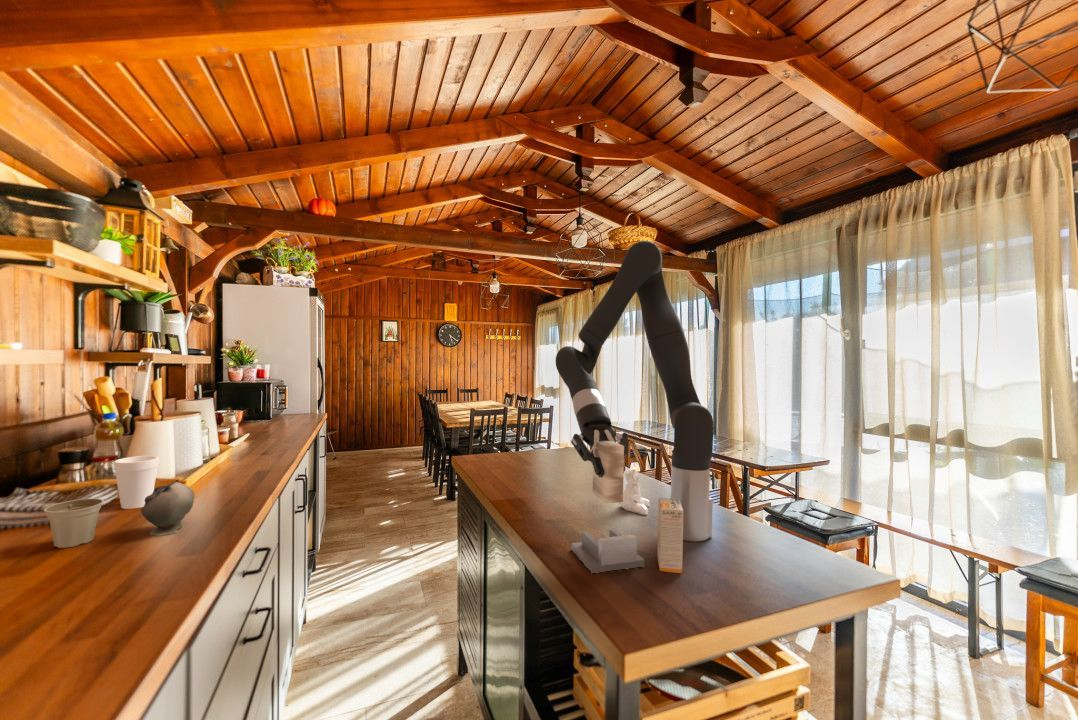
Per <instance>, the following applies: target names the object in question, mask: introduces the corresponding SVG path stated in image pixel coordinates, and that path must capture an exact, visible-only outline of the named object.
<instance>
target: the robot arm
mask: <svg viewBox="0 0 1078 720" xmlns="http://www.w3.org/2000/svg"><path fill="white" fill-rule="evenodd" d="M662 263H663V254H662V252H661V250H660V248H659V246H658V245H657V244H656V243H655V242H652V241H649V240H640V241H637V242H635V243H634V244H632V245H631V246H629V248H628V249H627V251H626V253H625V256H624V258H623V261H622V263H621V265H620V267H619V270H618V271H617V273H616V276H615V277H614V279H613V281H612V283H611V284H610V285H609V288H608V289H607V291H606V293H605V294H604V295H603V297H602V299H601V300H600V301H599V303H598V304H597V306H596V307H595V308H594V310H593V311H592V313H591V314H590V316H589V317H588V319H587V320H586V322H585V323H584V324H583V326H581V329H580V331H579V333H578V338H579V340H580V341H581V342H582V343H583V348H582V351H580V350H579V349H577V348H575V347H573V346H567V345H566V346H564V347H562V348H560V349H559V350H558V351H557V353H556V355H555V368H556V370H557V372H558V374H559V376H560V378H561V379H562V381H563V382H564V384H565V386H567V389H568V391H569V394H570V398H571V402H572V406H573V411H574V416H575V418H576V421H577V424H578V427H579V431H580V434H578V433H574V434H573V436H572V438H571V440H570V442H571V444H572V446H573V448H574V449H575V450H576V452H577V453H578V455H579V456H580V459H582V461H584V462H587V461H588V462H590V463H591V464H592V468H593V467H594V471H595V473H596V475H598V476H599V478H600V477H603V475H604V473H605V472H604V468H603V465H602V462H601V459H600V458H599V452H598V446H597V443H596V442H599V441H613V442H615V443H618V444H620V445H623V446H624V459H625V458H626V456H627V455H628V453H629V438H628V436H629V435H628V434H629V433H627V432H622V433H619V432H617V431H616V430H615V429H614V428H613V425H612V421H611V418H610V415H609V413H608V409H607V407H606V405H605V404H606V403H605V401H604V400H603V397H602V396H601V394H600V391H599V388H598V385H597V383H596V381H595V378H594V377H593V376H592V375H591V374H592V373H593V371H594V370H595V367H596V365H597V362H598V360H599V359H598V358H599V356H600V353H601V351H602V348H603V345H604V344H605V343H606V342H607V340H608V338H609V337H610V335H611V334H612V332H613V330H614V329H615V327H616V326H617V324H618V323H619V321H620V319H621V318H622V316H623V314H624V312H625V310H626V309H627V306H628V305H629V303H630V302H631V300H632V299H633V297H634V296H635V294H637V297H638V300H639V304H640V309H641V316H642V323H643V328H644V333H645V337H646V341H647V344H648V347H649V350H650V354H651V356H652V359H653V362H654V365H655V368H656V371H657V373H658V375H659V378H660V381H661V383H662V385H663V389H664V392H665V396H666V401H667V406H668V407H667V408H668V413H669V418H670V424H671V426H672V429H673V449H672V453H671V459H670V460H671V463H670V464H671V465H670V466H671V467H670V499H679V500H680V502H681V505H682V508H683V541H687V542H703V541H706V540H708V539H709V538H712V537H713V516H714V515H713V514H714V513H713V509H714V508H713V507H714V504H713V503H714V500H713V498H712V497H710V492H711V491H710V490H711V489H710V486H711V485H710V483H711V482H710V479H711V478H710V477H711V475H710V474H711V473H710V472H711V461H712V457H713V452H714V450H713V449H714V447H713V446H714V428H715V427H714V425H715V424H714V418H713V415H712V412H710V410H709V409H708V408H706V407H705V406H703V405H702V403H701V401H700V399H699V396H698V394H697V391H696V389H695V388H696V387H695V385H694V384H693V378H692V377H693V376H692V371H691V370H692V369H691V357H690V350H689V345H688V341H687V337H686V335H685V331H684V328H683V326H682V323H681V320H680V317H679V316H678V313H677V311H676V309H675V306H674V305H673V302H672V301H671V299H670V296H669V294H668V291H667V286H666V282H665V278H664V273H663V272H664V271H663V264H662ZM615 440H616V441H615ZM585 443H586V444H587V445H588V446H589V448H588V447H587V446H586V444H585ZM624 472H626V466H625V465H624Z"/></svg>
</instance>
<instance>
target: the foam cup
mask: <svg viewBox="0 0 1078 720" xmlns="http://www.w3.org/2000/svg"><path fill="white" fill-rule="evenodd" d="M113 462H114V463H113V470H114V471H115V477H116V483H117V485H116V486H117V489H118V497H119V502H120V503H119V504H120V508H121V509H125V510H131V509H132V510H133V509H141V508H143V507H144V505H145V498H146V497H147V496H149V495H151V494H152V493H153V491H154V490H155V485H156V479H157V473H158V467H159V465H160V456H158V455H137V456H129V457H121V458H119V459H116V460H115V461H113Z"/></svg>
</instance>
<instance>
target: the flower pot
mask: <svg viewBox="0 0 1078 720" xmlns="http://www.w3.org/2000/svg"><path fill="white" fill-rule="evenodd" d="M103 504H104V499H102V498H91V497H90V498H81V499H80V498H79V499H74V500H73V499H72V500H67V501H62V502H58V503H55V504H54V503H53V504H51V505H48V506H46V507H45V508H44V509H43V512H44V513H46V517H47V518H48V520H49V525H50V529H51V530H50V531H51V535H52V536H51V537H52V541H53V546H54V548H55V547H57V548H59V549H67V548H74V547H77V546H80V545H82V544H88V543H89V542H91V541H92V540H94V538H95V530H96V527H97V526H96V525H97V522H98V517H99V511H100V509H101V508H102V505H103Z"/></svg>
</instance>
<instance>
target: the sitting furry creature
mask: <svg viewBox="0 0 1078 720" xmlns="http://www.w3.org/2000/svg"><path fill="white" fill-rule="evenodd" d="M624 478H625V480H626V482H627V484H626V485H625V487H624V490H623V502H618V503H619V505H620V507H621V508H623V510H625V511H628V512H632V513H636V514H639V515H643V516H646V515H648V514H649V508H648V507H650V500H649V499H647V498H645V497H642V495H641V489H640V485H639V484H640V482H641V480H640V474H639V473H637V470H636V468H635V467H631V468H628V469H625V471H624Z"/></svg>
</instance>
